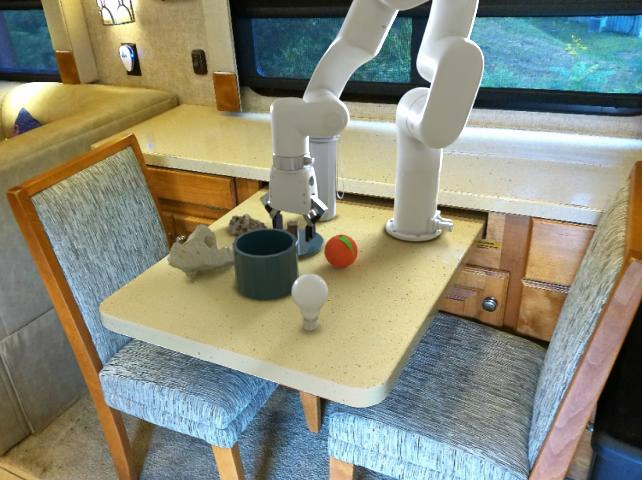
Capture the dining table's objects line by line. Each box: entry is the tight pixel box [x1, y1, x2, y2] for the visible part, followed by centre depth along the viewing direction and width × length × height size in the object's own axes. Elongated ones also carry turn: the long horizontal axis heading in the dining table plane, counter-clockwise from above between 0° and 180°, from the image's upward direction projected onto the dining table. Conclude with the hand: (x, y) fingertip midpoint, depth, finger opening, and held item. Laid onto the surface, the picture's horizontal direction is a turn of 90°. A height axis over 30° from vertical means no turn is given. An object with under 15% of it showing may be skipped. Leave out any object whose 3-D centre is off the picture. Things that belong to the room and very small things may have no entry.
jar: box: [231, 227, 300, 301], centre depth 119 cm, size 13×13×10 cm
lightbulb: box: [291, 273, 329, 332], centre depth 104 cm, size 6×6×11 cm
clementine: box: [324, 234, 359, 269], centre depth 124 cm, size 8×7×7 cm
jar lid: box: [283, 220, 325, 259], centre depth 134 cm, size 14×14×6 cm
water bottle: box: [308, 134, 345, 222], centre depth 141 cm, size 9×8×25 cm
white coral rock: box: [167, 223, 234, 281], centre depth 126 cm, size 15×7×15 cm
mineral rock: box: [228, 213, 268, 236], centre depth 143 cm, size 11×4×8 cm
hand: (294, 235), depth 134 cm, fingers open, 7 cm apart
